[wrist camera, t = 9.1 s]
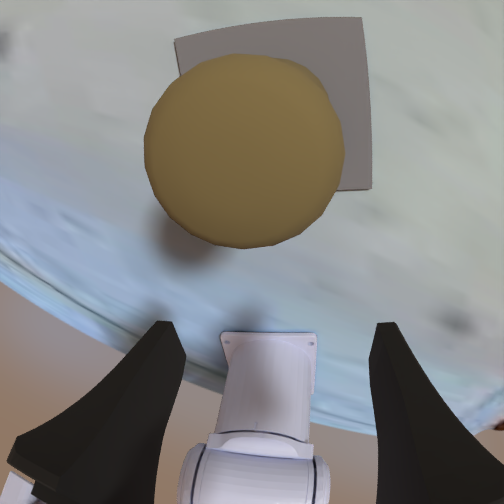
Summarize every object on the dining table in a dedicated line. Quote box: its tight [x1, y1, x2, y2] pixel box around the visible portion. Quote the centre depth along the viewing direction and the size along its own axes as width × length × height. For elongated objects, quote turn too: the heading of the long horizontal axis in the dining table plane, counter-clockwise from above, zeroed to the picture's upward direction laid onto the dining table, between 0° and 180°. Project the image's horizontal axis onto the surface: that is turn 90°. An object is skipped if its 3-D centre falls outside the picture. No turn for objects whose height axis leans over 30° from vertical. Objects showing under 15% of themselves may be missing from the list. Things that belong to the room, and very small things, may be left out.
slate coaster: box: [174, 17, 372, 190], centre depth 16 cm, size 10×10×1 cm
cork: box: [144, 54, 345, 249], centre depth 11 cm, size 6×6×11 cm
